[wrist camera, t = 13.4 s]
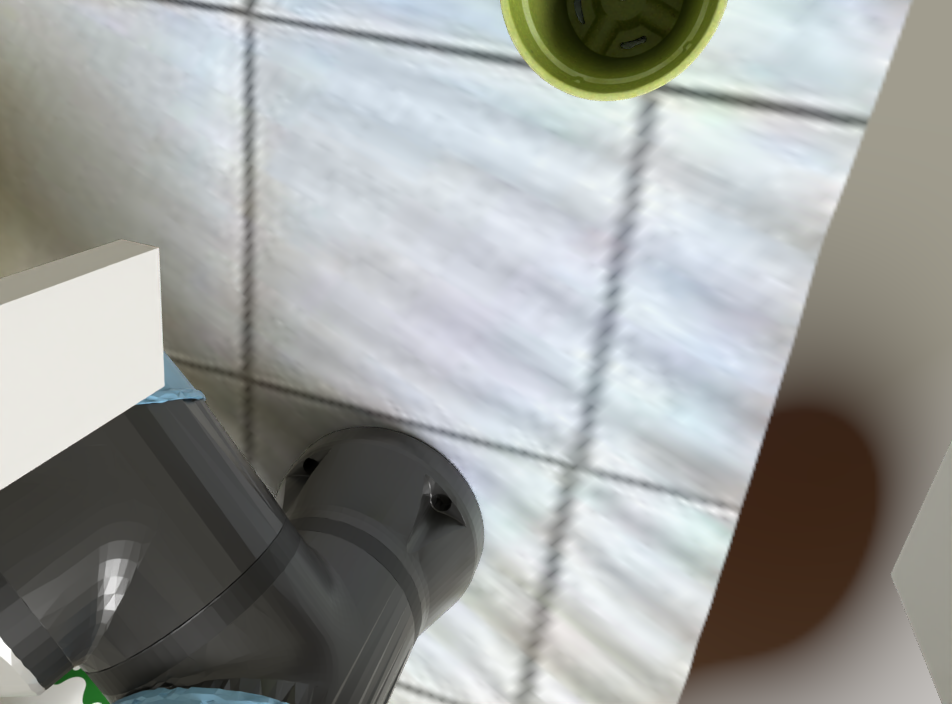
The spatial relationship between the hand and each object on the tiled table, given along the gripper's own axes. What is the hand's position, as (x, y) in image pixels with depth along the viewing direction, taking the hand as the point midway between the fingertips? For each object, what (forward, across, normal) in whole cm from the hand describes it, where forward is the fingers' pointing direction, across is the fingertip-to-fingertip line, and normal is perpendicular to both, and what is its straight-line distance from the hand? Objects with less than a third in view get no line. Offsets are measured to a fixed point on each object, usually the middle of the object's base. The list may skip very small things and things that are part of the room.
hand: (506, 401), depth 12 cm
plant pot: (+32, +2, -8) cm, 33 cm away
